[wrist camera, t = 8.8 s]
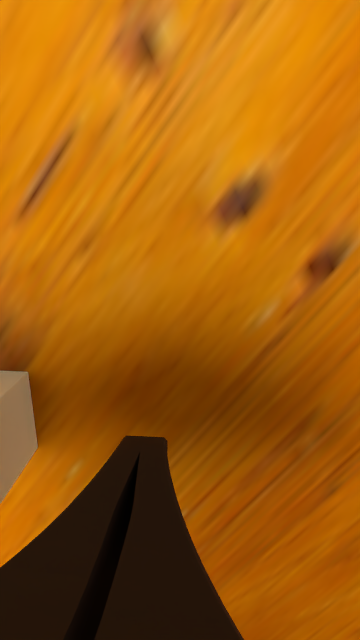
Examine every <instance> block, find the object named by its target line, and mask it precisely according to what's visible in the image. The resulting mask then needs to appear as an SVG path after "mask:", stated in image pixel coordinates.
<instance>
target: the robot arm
mask: <svg viewBox="0 0 360 640" xmlns="http://www.w3.org/2000/svg"><path fill="white" fill-rule="evenodd" d="M0 640H244V639H243V637H242V636H241V634H240V632H239V631H238V629H237V627H236V626H235V624H234V622H233V620H232V619H231V617H230V615H229V613H228V612H227V610H226V608H225V606H224V605H223V603H222V601H221V599H220V597H219V595H218V593H217V591H216V589H215V588H214V586H213V584H212V582H211V580H210V578H209V576H208V574H207V572H206V570H205V568H204V566H203V564H202V562H201V560H200V557H199V555H198V553H197V551H196V549H195V546H194V544H193V542H192V539H191V537H190V534H189V532H188V529H187V527H186V524H185V521H184V519H183V516H182V513H181V510H180V507H179V504H178V501H177V498H176V494H175V491H174V487H173V483H172V479H171V475H170V470H169V464H168V458H167V440H166V439H165V438H163V437H143V436H126V437H124V438H123V440H122V441H121V443H120V444H119V445H118V447H117V448H116V450H115V451H114V452H113V454H112V455H111V456H110V458H109V459H108V460H107V462H106V463H105V464H104V466H103V467H102V468H101V469H100V471H99V472H98V473H97V474H96V475H95V477H94V478H93V479H92V480H91V482H90V483H89V484H88V485H87V486H86V487H85V488H84V490H83V491H82V492H81V493H80V494H79V495H78V496H77V497H76V498H75V499H74V500H73V502H72V503H71V504H70V505H69V506H68V507H67V508H66V509H65V510H64V511H63V512H62V513H61V514H60V515H59V516H58V517H57V518H56V519H55V520H54V521H53V522H52V523H51V524H50V525H49V526H48V527H47V528H46V529H45V530H44V531H42V532H41V533H40V534H39V535H38V536H37V537H36V538H35V539H34V540H32V541H31V542H30V543H29V544H28V545H27V546H26V547H24V548H23V549H22V550H21V551H20V552H19V553H17V554H16V555H15V556H14V557H13V558H11V559H10V560H9V561H8V562H7V563H5V564H4V565H3V566H2V567H0Z"/></svg>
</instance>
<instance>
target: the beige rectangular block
mask: <svg viewBox="0 0 360 640" xmlns="http://www.w3.org/2000/svg"><path fill="white" fill-rule="evenodd" d="M37 448H38V444H37V436H36V428H35V421H34V413H33V406H32V398H31V390H30V383H29V375H28V372H22V371H0V504H1V502H2V501H3V499H4V498H5V496H6V495H7V493H8V492H9V490H10V489H11V487H12V486H13V484H14V483H15V481H16V480H17V478H18V477H19V475H20V474H21V472H22V471H23V469H24V468H25V466H26V465H27V463H28V462H29V460H30V459H31V457H32V456H33V454H34V453H35V451H36V450H37Z"/></svg>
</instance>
